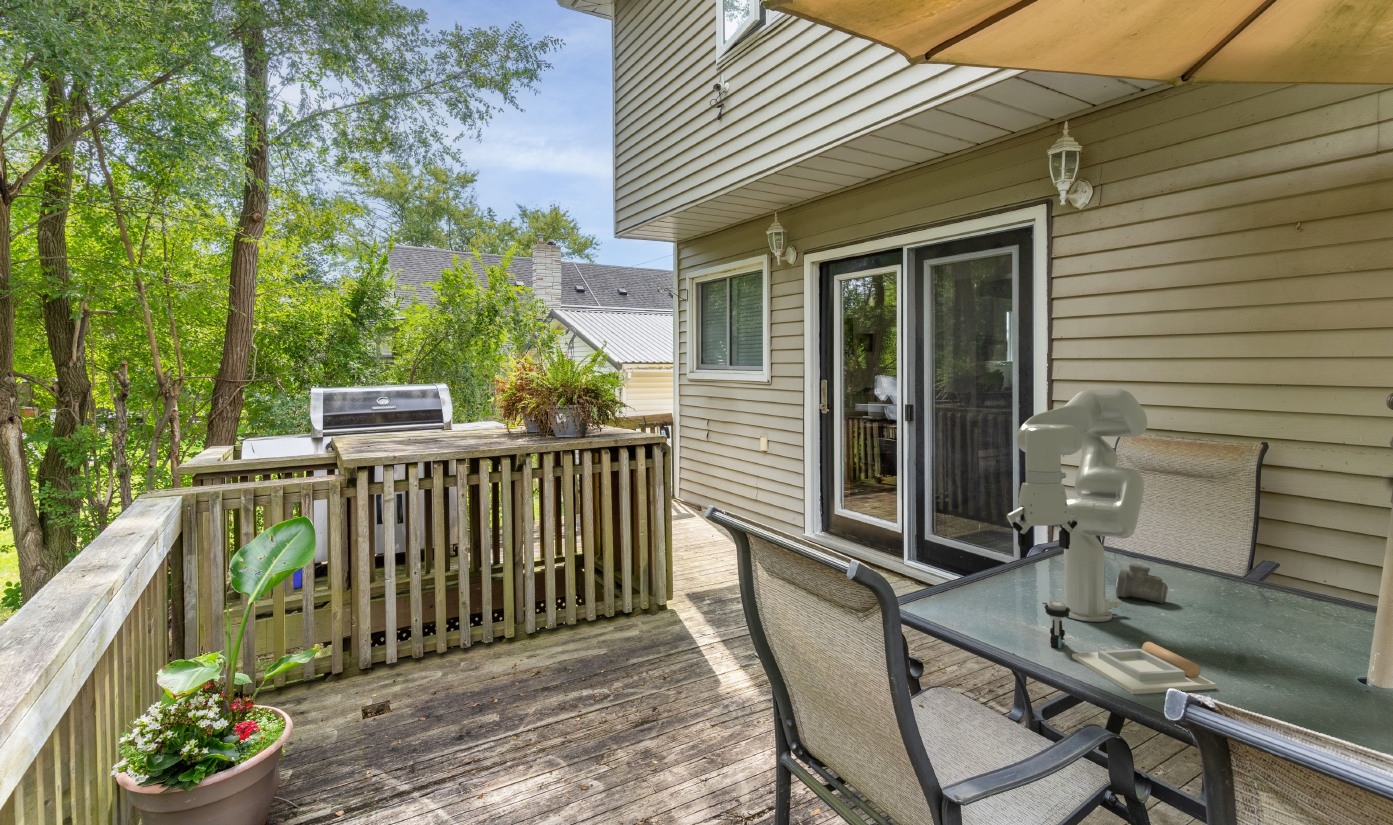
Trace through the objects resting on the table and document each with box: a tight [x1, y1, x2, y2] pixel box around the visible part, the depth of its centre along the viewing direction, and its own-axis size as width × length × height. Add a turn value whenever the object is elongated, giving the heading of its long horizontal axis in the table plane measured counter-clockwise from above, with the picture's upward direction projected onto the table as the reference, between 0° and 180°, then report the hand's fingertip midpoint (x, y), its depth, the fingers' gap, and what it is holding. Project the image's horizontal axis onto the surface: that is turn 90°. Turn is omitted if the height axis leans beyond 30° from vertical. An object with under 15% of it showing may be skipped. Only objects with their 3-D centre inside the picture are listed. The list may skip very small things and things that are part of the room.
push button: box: [1044, 600, 1070, 649], centre depth 154 cm, size 7×5×10 cm
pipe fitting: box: [1115, 562, 1169, 604], centre depth 185 cm, size 12×8×10 cm
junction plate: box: [1071, 641, 1217, 695], centre depth 138 cm, size 18×18×4 cm
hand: (1043, 548), depth 155 cm, fingers open, 9 cm apart
